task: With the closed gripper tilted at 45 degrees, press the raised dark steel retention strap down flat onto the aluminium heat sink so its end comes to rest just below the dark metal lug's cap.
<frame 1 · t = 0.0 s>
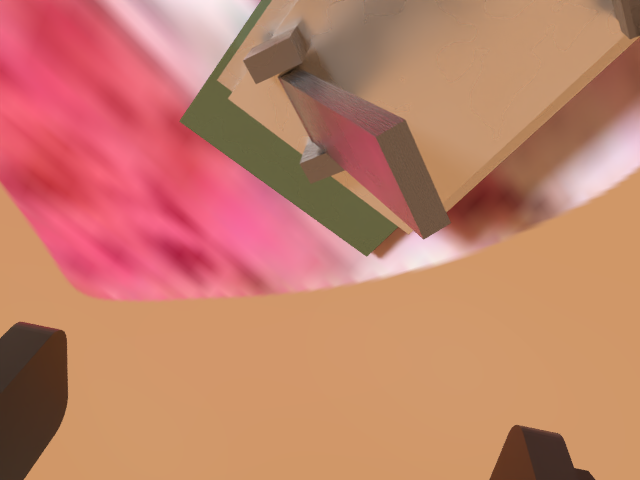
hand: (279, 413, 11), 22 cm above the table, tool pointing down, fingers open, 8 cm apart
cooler: (430, 7, 28), on the table
retention strap: (343, 132, 20), point 11 cm above the table, hinge at 65.0°
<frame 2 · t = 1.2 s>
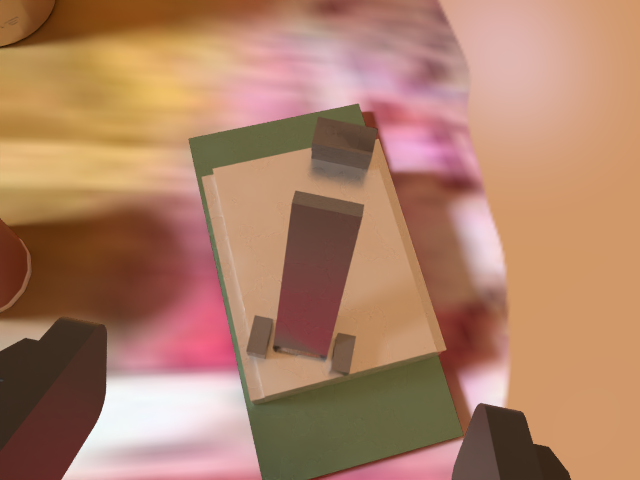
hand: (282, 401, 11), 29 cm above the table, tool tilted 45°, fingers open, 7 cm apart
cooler: (315, 281, 41), on the table
retention strap: (312, 287, 30), point 11 cm above the table, hinge at 65.0°
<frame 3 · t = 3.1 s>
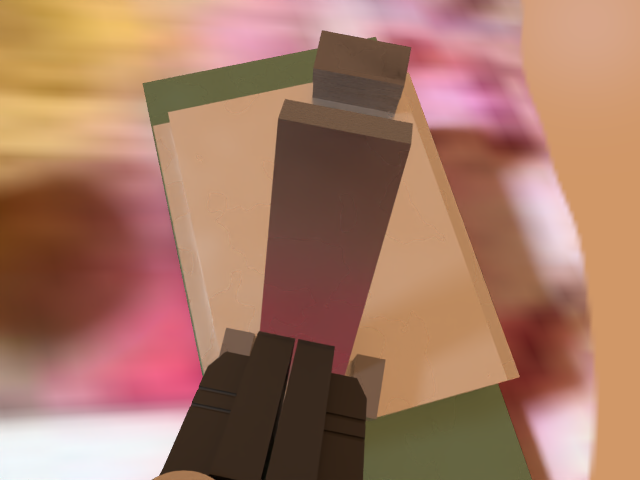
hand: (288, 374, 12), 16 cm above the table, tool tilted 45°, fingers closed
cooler: (320, 278, 29), on the table
retention strap: (316, 282, 18), point 11 cm above the table, hinge at 65.0°
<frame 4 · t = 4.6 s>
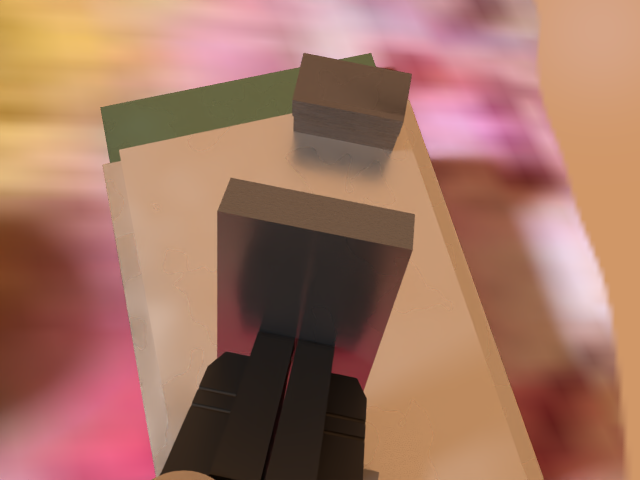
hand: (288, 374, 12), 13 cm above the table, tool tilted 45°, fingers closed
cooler: (304, 337, 25), on the table
retention strap: (287, 395, 14), point 11 cm above the table, hinge at 65.0°, touching gripper
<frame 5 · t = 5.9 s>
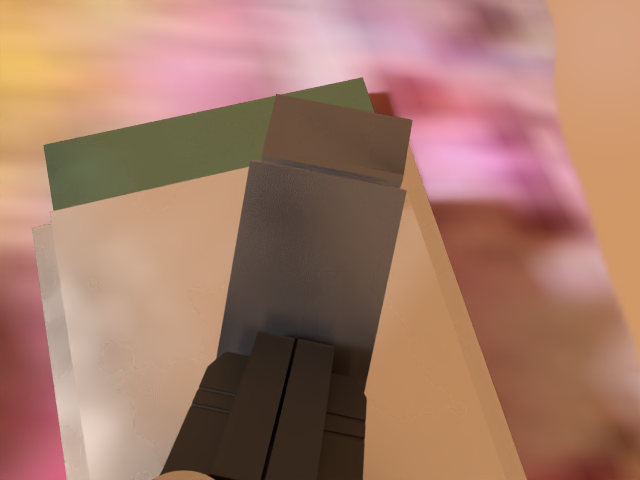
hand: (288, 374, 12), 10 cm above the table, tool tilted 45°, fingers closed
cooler: (285, 420, 21), on the table
retention strap: (276, 446, 13), point 9 cm above the table, hinge at 26.8°, touching gripper
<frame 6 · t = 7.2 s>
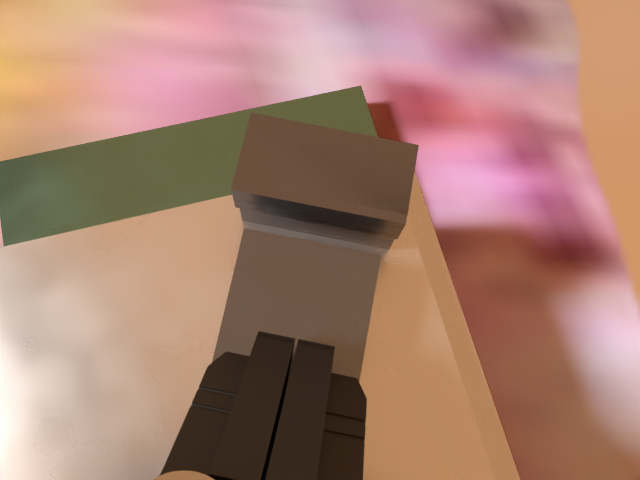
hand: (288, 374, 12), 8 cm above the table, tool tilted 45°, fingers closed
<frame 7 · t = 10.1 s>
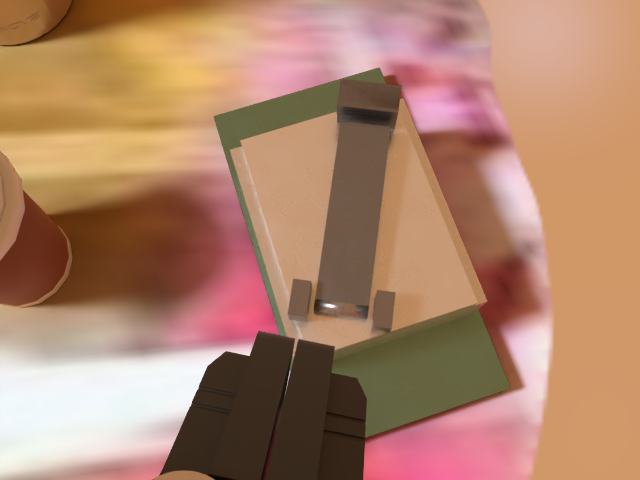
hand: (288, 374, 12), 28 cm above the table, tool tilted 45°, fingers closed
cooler: (350, 247, 41), on the table
retention strap: (353, 217, 35), point 7 cm above the table, hinge at 2.8°
coffee cup: (27, 262, 42), on the table
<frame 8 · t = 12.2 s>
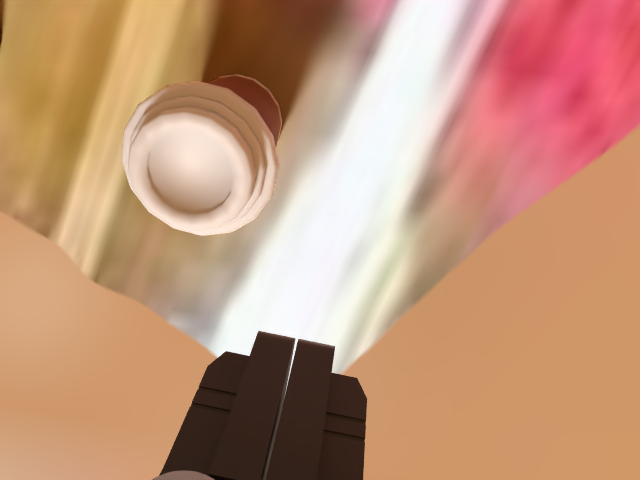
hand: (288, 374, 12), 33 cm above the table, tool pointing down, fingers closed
coffee cup: (239, 118, 44), on the table
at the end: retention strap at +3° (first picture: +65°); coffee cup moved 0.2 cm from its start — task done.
